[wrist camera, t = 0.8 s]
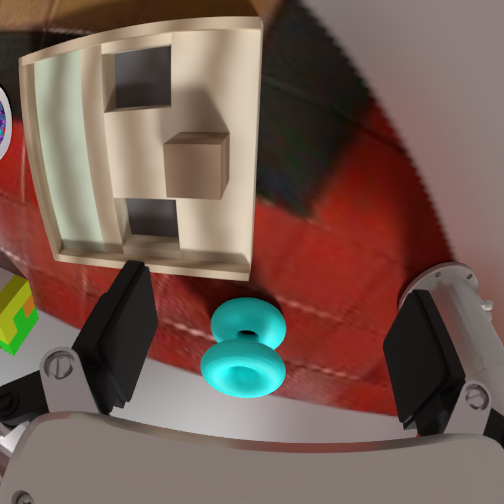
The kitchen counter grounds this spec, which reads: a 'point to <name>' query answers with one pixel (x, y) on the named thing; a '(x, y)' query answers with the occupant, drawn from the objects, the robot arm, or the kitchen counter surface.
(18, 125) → the kitchen counter surface
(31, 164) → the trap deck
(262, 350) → the donuts
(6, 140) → the pudding
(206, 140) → the walnut block
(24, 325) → the puzzle toy
